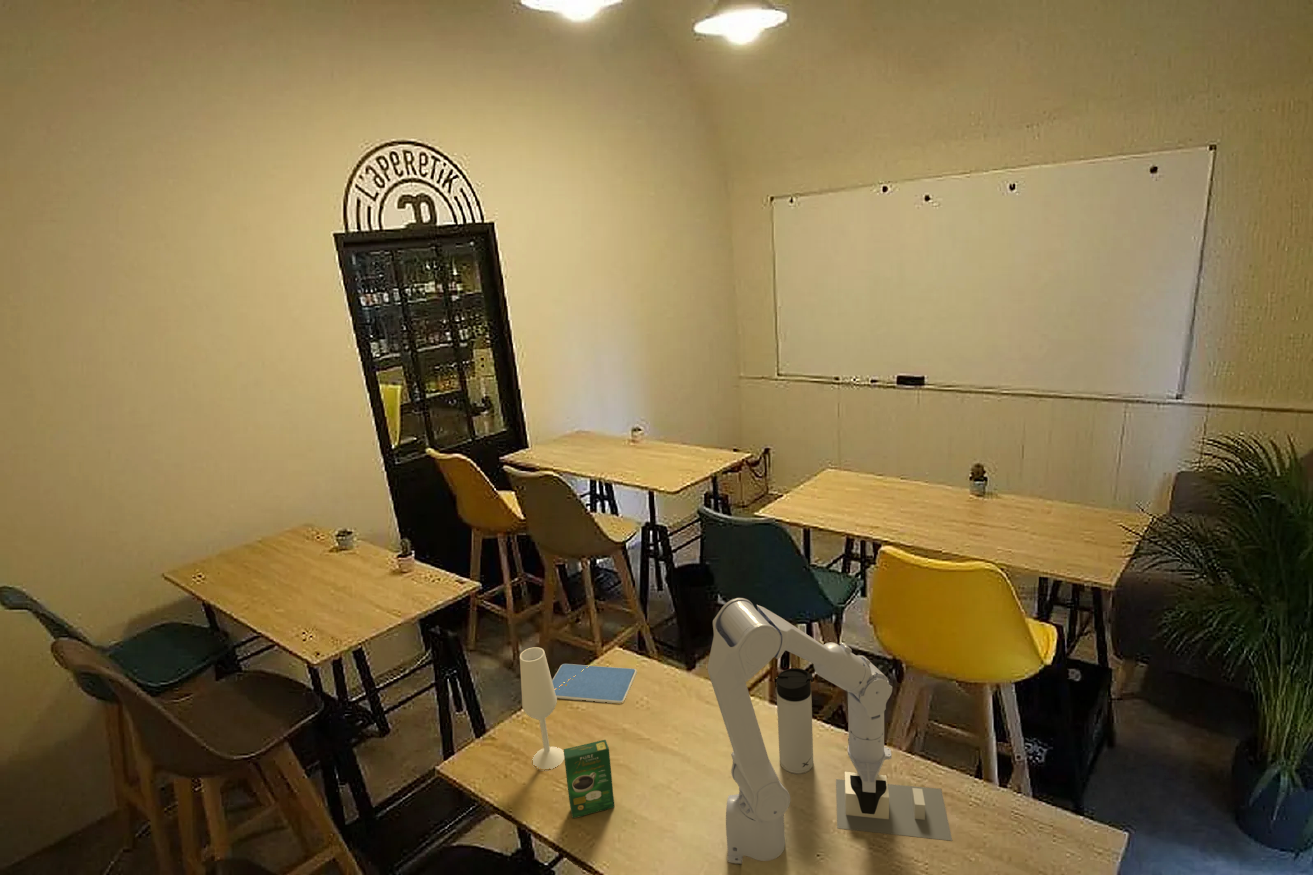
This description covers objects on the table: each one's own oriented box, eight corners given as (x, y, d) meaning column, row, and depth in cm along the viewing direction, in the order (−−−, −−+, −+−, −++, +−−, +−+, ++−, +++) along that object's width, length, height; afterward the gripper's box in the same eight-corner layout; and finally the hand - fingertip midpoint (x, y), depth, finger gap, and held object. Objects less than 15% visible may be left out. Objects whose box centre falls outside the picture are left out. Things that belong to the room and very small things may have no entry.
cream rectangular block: (888, 819, 118) (889, 797, 116) (845, 814, 119) (845, 793, 118) (886, 796, 122) (886, 775, 121) (844, 792, 124) (844, 771, 123)
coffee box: (613, 796, 129) (606, 737, 125) (616, 808, 126) (609, 747, 123) (570, 808, 127) (561, 748, 124) (572, 820, 125) (563, 759, 121)
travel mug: (815, 779, 129) (813, 687, 123) (779, 777, 130) (775, 685, 125) (815, 755, 135) (812, 665, 129) (780, 753, 136) (776, 664, 130)
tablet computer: (638, 672, 166) (637, 667, 166) (624, 706, 154) (623, 701, 154) (562, 667, 171) (561, 662, 170) (542, 700, 159) (542, 695, 159)
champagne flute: (526, 768, 138) (508, 663, 131) (539, 745, 144) (523, 643, 137) (557, 772, 136) (541, 665, 130) (569, 748, 142) (554, 645, 136)
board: (837, 832, 117) (836, 813, 116) (835, 783, 127) (835, 765, 126) (952, 845, 113) (952, 825, 112) (941, 793, 123) (941, 774, 122)
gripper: (895, 762, 109) (895, 831, 113) (887, 701, 122) (887, 765, 126) (848, 758, 110) (849, 826, 114) (845, 699, 124) (846, 762, 128)
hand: (866, 794), depth 120 cm, fingers open, 7 cm apart
